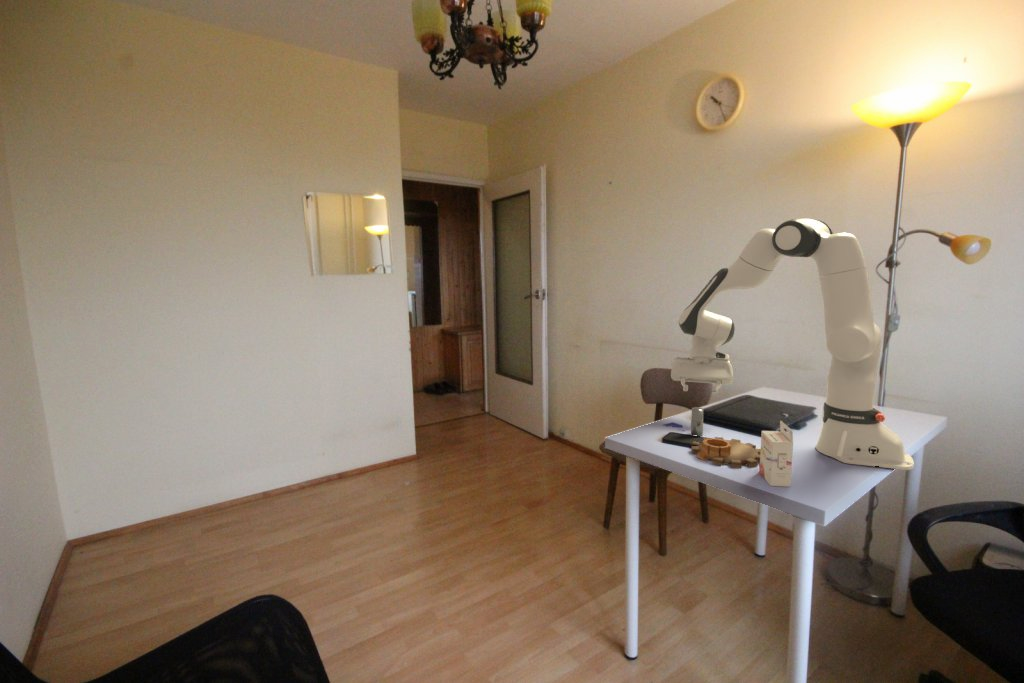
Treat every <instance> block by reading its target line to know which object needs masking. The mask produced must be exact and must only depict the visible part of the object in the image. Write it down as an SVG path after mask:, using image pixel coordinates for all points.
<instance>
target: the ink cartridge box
mask: <svg viewBox="0 0 1024 683" xmlns="http://www.w3.org/2000/svg"><path fill="white" fill-rule="evenodd" d="M779 427H780V428H779V429H780V431H778V430H777V431H776V430H761V434H760V436H761V438H760V449H761V451H760V463H759V469H758V470H759V473H760V475H762V477H763V479H764V480H766V482H767V483H768V484H769V486H770V487H791V484H792V482H791V480H792V465H793V464H792V463H793V452H794V451H793V450H794V440H793V438H794V435H793V434H794V433H793V430H792V429H791V428H790V427H789V426H788V425H787V424H786V423H784V422H783V421H782V420H780V421H779Z"/></svg>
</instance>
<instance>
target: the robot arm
mask: <svg viewBox="0 0 1024 683" xmlns="http://www.w3.org/2000/svg"><path fill="white" fill-rule="evenodd" d="M784 256H786V257H790V258H795V257H796V258H799V257H800V258H812V259H813V260H814V261H815V264H816V266H817V270H818V278H819V282H820V288H821V293H822V299H823V307H824V308H823V309H824V310H823V312H824V327H825V328H824V329H825V337H826V348H827V350H828V351H829V354H831V361H830V366H829V370H828V371H829V372H828V376H827V383H826V398H825V402H824V403H823V407H822V418H821V419H822V422H823V423H822V428H821V432H820V435H819V438H818V441H817V443H816V445H815V449H816V450H817V451H818V452H819V453H821V454H823V455H825V456H828V457H831V458H833V459H836V460H837V461H839V462H841V463H844V464H849V465H858V466H867V467H868V466H869V467H875V466H879V467H878V468H883V469H884V468H887V469H894V470H904V471H910V470H912V469H913V468H914V467H915V461H914V458H913V457H912V456H911V455H910V454H909V453H907V452H905V446H904V443H903V441H902V439H901V437H900V436H899V435H898V434H897V433H895V432H894V431H893V430H892V429H890V428H888V426H886V425H884V424H883V422H884V421H885V420H886V418H885V415H884V413H882V412H881V411H880V410H879V409H878V408H876V407H875V408H874V401H875V400H874V399H875V389H876V380H877V373H878V369H879V368H878V367H879V362H880V355H881V348H882V340H883V335H882V331H881V329H880V327H879V326H878V325H877V324H876V323H875V322H874V314H873V300H872V297H873V296H872V290H871V284H870V279H869V274H868V269H867V264H866V260H865V254H864V251H863V249H862V247H861V244H860V242H859V239H858V238H857V237H856V236H855V235H854V234H852V233H849V232H848V233H847V232H837V233H834V232H833V229H832V227H831V226H830V225H829V224H828V223H826V222H825V221H822V220H817V219H812V218H793V219H789V220H786V221H784V222H781V223H780V224H779V225H778V226H777V227H776V228H762V229H760V230H758V231H757V232H756V233H755V234H754V235H753V236H752V237H751V238H750V240H749V241H747V244H746V245H745V247H744V248H743V249H742V251H741V253H740V255H739V256H738V257H737V259H736V260H735V261H734V262H732V264H731V265H729V266H727V267H724V268H721V269H719V270H718V271H717V272H716V273H715V274H714V275H713V277H711V279H710V280H709V281H708V282H707V284H705V286H704V288H702V289H701V291H700V292H699V293H698V295H697V296H695V298H694V300H693V301H692V302H691V303H690V304H689V305H688V306H687V307H686V308H685V309H684V310H683V311H682V313H681V315H680V316H679V320H678V325H679V328H680V330H681V331H682V333H683V334H686V335H689V336H691V348H690V351H689V352H690V354H689V357H679V356H677V357H675V358H673V359H672V360H671V366H672V367H671V370H670V377H671V380H673V381H675V382H680V384H681V385H682V387H683V388H682V391H683V392H688V390H689V385H688V384H686V382H688V383H690V382H691V383H704V384H714V385H715V384H716V386H712V394H715V395H717V394H718V391H719V389H720V388H722V385H728V386H729V385H732V384H733V381H734V371H733V365H732V364H731V361H730V355H729V354H727V353H725V352H720V351H718V350H717V349H718V347H722V346H724V345H725V344H728V343H729V342H730V341H731V340H732V339H733V337H734V335H735V331H736V330H735V329H736V328H735V323H734V321H733V319H732V318H730V317H728V316H724V315H722V314H719V313H715V312H711V311H709V310H707V308H708V306H709V305H710V304H711V303H712V302H713V300H714V299H715V298H716V297H717V295H718V294H720V293H722V292H724V291H729V290H749V289H755V288H758V287H760V286H762V285H763V284H764V283H766V282H767V280H768V279H769V278H770V276H771V274H772V273H773V271H774V270H775V268H776V267H777V265H778V263H779V262H780V261H781V259H782V258H784Z"/></svg>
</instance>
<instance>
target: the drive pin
mask: <svg viewBox="0 0 1024 683" xmlns="http://www.w3.org/2000/svg"><path fill="white" fill-rule="evenodd" d="M704 410H705V409H704V408H702V407H698V406H697V407H696V406H695V407H693V406H692V408H691V414H690V415H691V418H690V419H691V422H690V435H691V434H692V435H697V436H702V437H703V433H704V429H703V428H704Z"/></svg>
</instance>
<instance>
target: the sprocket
mask: <svg viewBox="0 0 1024 683" xmlns="http://www.w3.org/2000/svg"><path fill="white" fill-rule="evenodd" d="M703 439H704V440H703V441H702V443H699V442H700V441H699V442H696V441H697V440H694V441H692V443H691V447H690V452H691V453H692V454H693V455H697V456H696V457H697V458H698V459H699V458H700V460H702V461H711V462H712V465H717V466H720V467H721V466H723V465H730V466H731V468H736V469H737V468H740V469H742V466H748V467H750V468H754V467H758V466H759V464H760V451H761V448H757V446H756V445H755V444H753V443H750V442H747V443H746V442H745V443H743V442H742V441H741V440H740V439H736V438H731V439H730V440H729V439H724V437H718V436H714V438H713V437H709V438H708V437H703ZM692 445H698V446H692ZM708 459H709V460H708Z"/></svg>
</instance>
